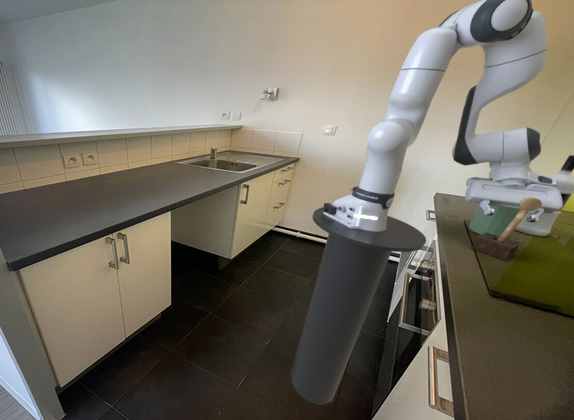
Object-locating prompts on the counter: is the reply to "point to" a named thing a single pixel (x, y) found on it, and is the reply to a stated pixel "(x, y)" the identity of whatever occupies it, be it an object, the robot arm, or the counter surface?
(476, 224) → the cup
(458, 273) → the counter surface
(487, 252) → the spoon stand
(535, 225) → the vodka
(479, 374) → the counter surface
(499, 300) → the counter surface
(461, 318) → the counter surface
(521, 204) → the spoon
